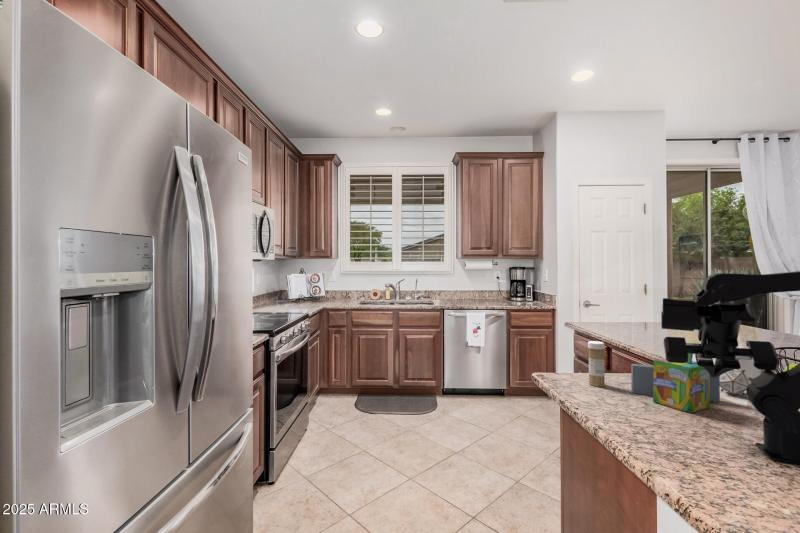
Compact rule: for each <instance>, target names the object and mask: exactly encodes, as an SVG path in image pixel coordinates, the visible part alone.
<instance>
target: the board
mask: <svg viewBox="0 0 800 533" xmlns="http://www.w3.org/2000/svg"><path fill="white" fill-rule="evenodd" d="M630 367H631V368H630V370H631V371H630V372H631V373H630V374H631V375H630V376H631V377H630V378H631V380H630V381H631V382H630V383H631V392H632V394H636V393H637V394H638V395H648V396H653V382H654V364H653V365H652V364H640V363H639V364H638V363H631V365H630ZM709 395H710V397H709V402H710V401H713V402H712V403H719V402H720V403H721V387H720V376H718V377H711V376H710V393H709Z"/></svg>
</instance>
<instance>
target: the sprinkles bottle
mask: <svg viewBox="0 0 800 533" xmlns="http://www.w3.org/2000/svg"><path fill="white" fill-rule="evenodd" d="M587 348H588V376H589V377H588V384H589V385H590V386H593V387H601V388H602V387H605V386H606V384H605V375H606V374H605V373H606V371H605V342H603V341H599V340H590V341H589V340H588V342H587Z"/></svg>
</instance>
